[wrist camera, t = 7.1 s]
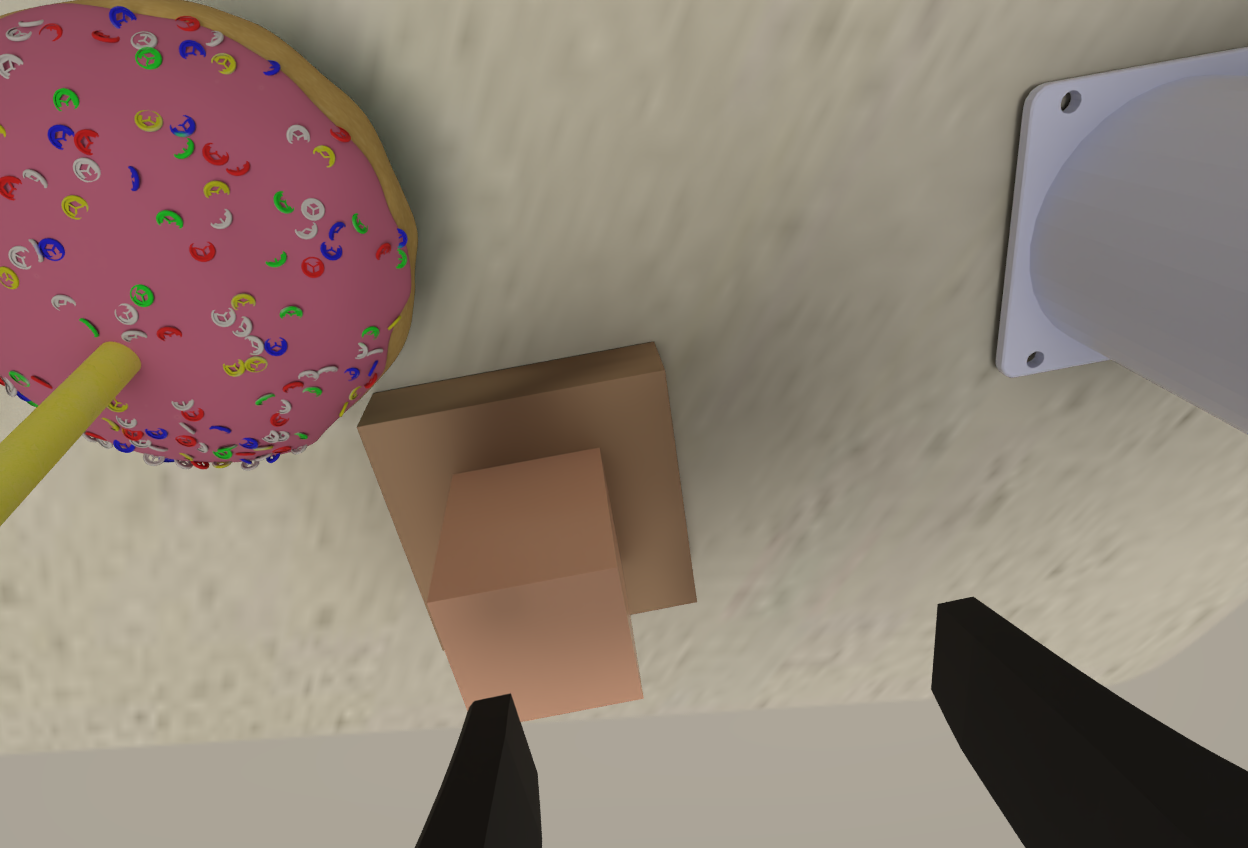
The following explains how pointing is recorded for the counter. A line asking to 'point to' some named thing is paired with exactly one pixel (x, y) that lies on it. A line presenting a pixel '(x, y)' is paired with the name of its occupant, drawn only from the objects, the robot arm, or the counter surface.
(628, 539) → the base
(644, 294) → the counter surface
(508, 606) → the block
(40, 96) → the cupcake
